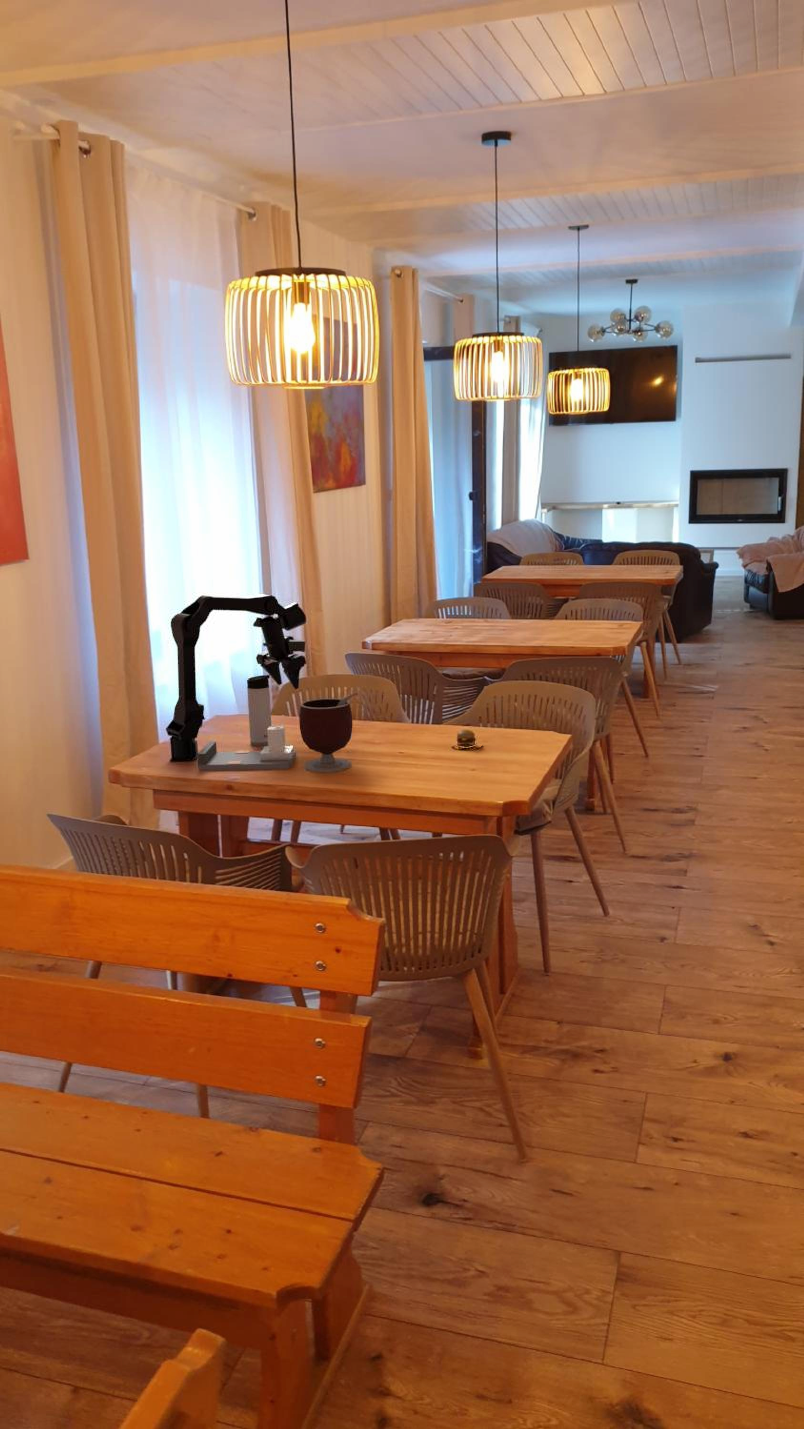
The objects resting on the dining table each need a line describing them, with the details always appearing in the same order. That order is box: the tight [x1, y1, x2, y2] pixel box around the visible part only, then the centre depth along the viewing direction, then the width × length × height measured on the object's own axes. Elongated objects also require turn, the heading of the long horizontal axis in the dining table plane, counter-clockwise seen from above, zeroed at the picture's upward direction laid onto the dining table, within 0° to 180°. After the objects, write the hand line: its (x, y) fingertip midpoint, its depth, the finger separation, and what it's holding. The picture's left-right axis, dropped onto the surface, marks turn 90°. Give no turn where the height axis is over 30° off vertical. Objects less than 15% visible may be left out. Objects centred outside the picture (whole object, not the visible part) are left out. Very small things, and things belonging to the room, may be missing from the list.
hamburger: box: [456, 729, 477, 747], centre depth 317 cm, size 12×12×6 cm
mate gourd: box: [298, 691, 358, 773], centre depth 299 cm, size 16×14×20 cm
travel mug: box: [246, 674, 272, 747], centre depth 327 cm, size 6×7×20 cm
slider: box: [260, 725, 295, 761], centre depth 306 cm, size 8×8×8 cm
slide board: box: [197, 740, 297, 771], centre depth 307 cm, size 24×14×4 cm, turn 87°
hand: (288, 686), depth 331 cm, fingers open, 9 cm apart
